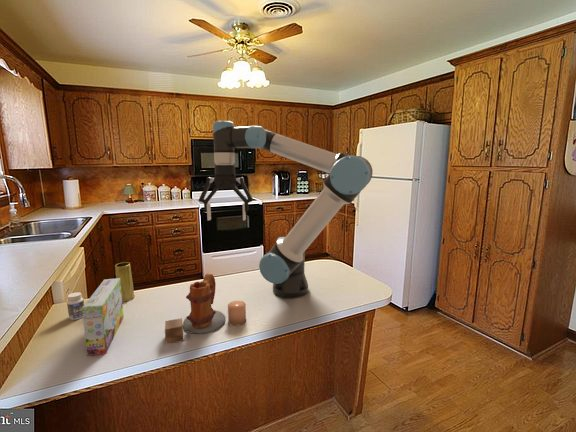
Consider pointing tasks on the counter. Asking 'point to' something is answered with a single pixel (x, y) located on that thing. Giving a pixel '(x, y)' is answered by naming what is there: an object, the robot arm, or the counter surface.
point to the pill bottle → (75, 305)
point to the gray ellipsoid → (215, 324)
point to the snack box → (102, 316)
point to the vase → (125, 280)
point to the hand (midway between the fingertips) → (226, 219)
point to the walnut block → (174, 331)
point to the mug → (202, 302)
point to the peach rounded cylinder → (236, 312)
